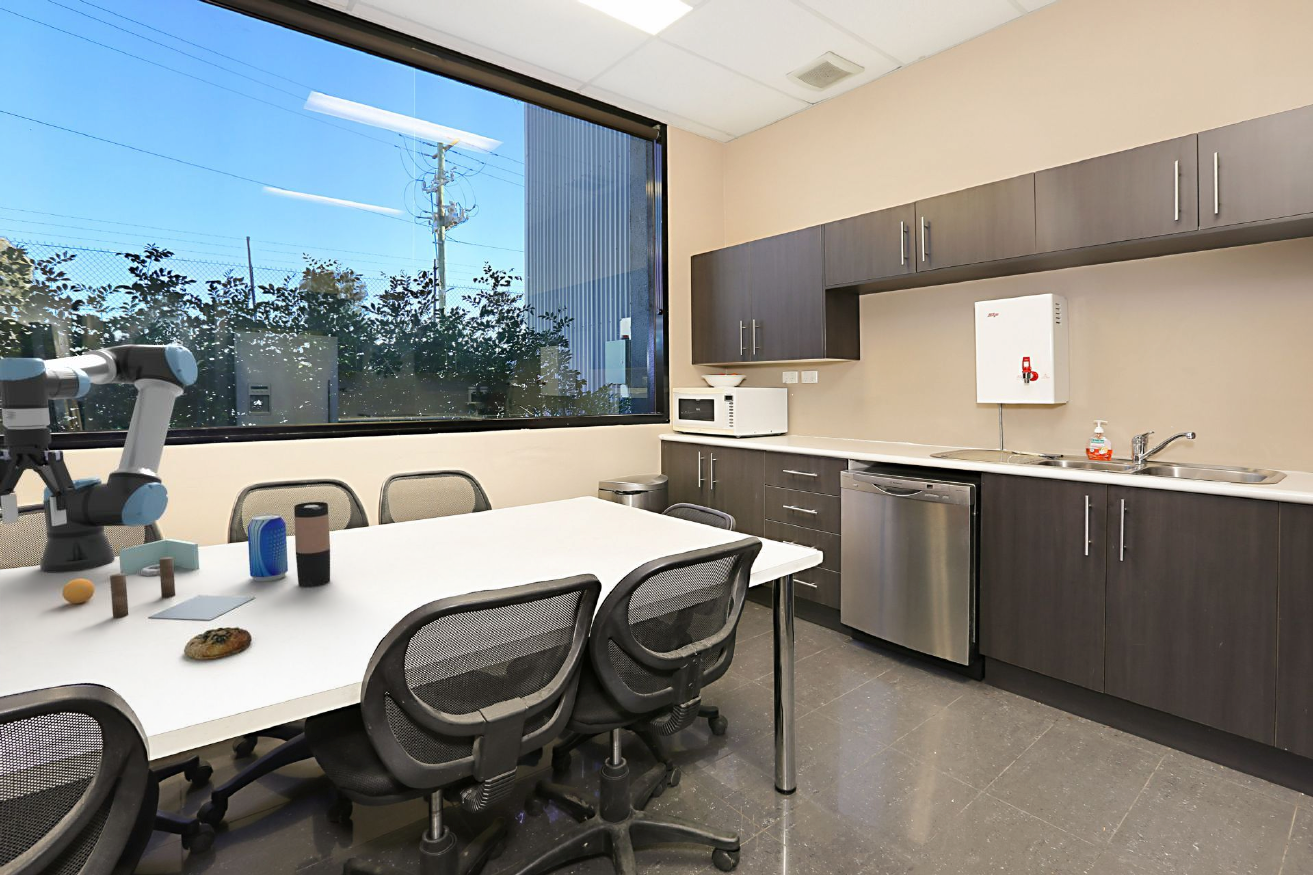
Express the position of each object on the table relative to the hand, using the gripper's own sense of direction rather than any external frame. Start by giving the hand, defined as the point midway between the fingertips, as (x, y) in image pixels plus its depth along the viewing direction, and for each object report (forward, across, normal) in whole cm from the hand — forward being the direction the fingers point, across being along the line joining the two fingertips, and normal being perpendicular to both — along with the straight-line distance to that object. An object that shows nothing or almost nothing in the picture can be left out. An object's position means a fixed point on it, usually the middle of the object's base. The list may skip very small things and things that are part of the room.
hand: (35, 523), depth 147 cm
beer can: (+18, +40, +22) cm, 49 cm away
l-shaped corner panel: (+19, +9, +23) cm, 31 cm away
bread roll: (+19, +58, -20) cm, 65 cm away
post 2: (+18, +25, +6) cm, 32 cm away
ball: (+15, +9, 0) cm, 18 cm away
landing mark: (+18, +39, 0) cm, 43 cm away
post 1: (+18, +25, -6) cm, 32 cm away
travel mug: (+18, +54, +19) cm, 60 cm away
